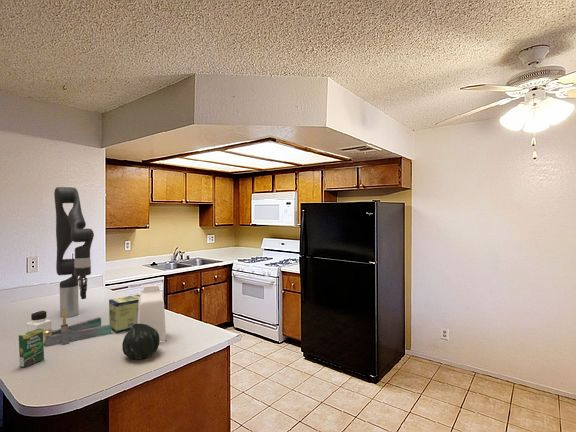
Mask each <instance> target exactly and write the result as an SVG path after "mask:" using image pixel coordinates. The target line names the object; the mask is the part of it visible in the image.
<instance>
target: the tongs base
mask: <svg viewBox="0 0 576 432" xmlns="http://www.w3.org/2000/svg"><path fill="white" fill-rule="evenodd" d="M68 326H69V324H68V323H66V326H63V324H60V328H61V334H56V335H50V333H51V332H52V331H53V329H52V328H51V329H47V330H43V334H44V337H43V343H44V346H45V347H49V346H50V347H51V346H55V345H59V344H61V345H62V346H64V345H68V344H70V342H76V341H79V340H81V341H82V340H84V339H85V340H86V339H91V338H94V337H95V338H96V337H101V336H106V335H111V334H113V333H112V332H113V331H112V329H111V324H110V325H109V324H106V325H101V326H97V327H94V328H89V329H83V330H78V331H72V332H69V329H68Z"/></svg>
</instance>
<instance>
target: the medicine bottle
mask: <svg viewBox="0 0 576 432" xmlns="http://www.w3.org/2000/svg"><path fill="white" fill-rule="evenodd" d="M47 318H48V316H47V311H45V310H37V311H34V312H32V313H31V317H30V319H31V320H30V322H27V323H26V333H27V332H30V331H33V330H36V329H38V328H40V329H43V330H47V329H52V319H47ZM43 338H44V334H43Z"/></svg>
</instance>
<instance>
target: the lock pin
mask: <svg viewBox="0 0 576 432" xmlns="http://www.w3.org/2000/svg"><path fill="white" fill-rule="evenodd" d="M61 319H62V320H61V321H62V325H63V326H66V324H67V317H66V309H62V317H61Z"/></svg>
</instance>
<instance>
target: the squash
mask: <svg viewBox="0 0 576 432" xmlns="http://www.w3.org/2000/svg"><path fill="white" fill-rule="evenodd" d="M126 332H127V333H126V334H125V335H124V338H123V340H122V345H121V347H122V352H123V354H124V356H125V357H127V358H129V359H130V360H131V359H132V360H134V359H135V358H136V359H137V360H142V359H144V358H147V359H148V358H149V357H151V356H152V355H153V354H154V353H155V352H157V351H158V349H159V345H160V343H159V340H160V339H159V334H158V332H157V331H156V330H155V329H154V328H152V327H150V326H149V325H146V324H134V325H133V326H132V327H131V329H130V330H129V331H126ZM136 359H135V360H136Z"/></svg>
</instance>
